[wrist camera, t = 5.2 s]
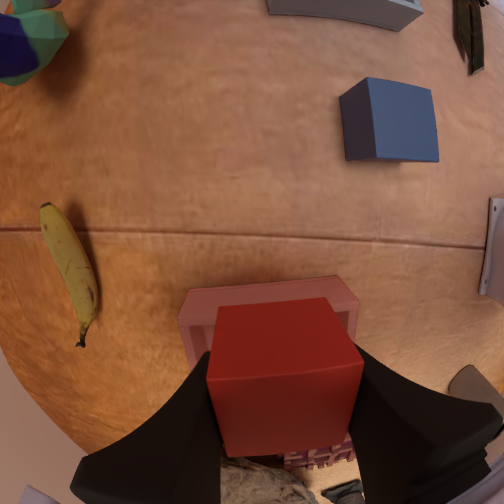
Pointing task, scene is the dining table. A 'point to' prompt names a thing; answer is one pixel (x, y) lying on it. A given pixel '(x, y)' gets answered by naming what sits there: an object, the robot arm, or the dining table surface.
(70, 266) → the banana
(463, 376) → the planter
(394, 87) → the blue block
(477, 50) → the knife
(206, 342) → the pink bin
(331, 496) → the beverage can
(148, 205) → the dining table surface
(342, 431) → the red block
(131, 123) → the dining table surface
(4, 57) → the decorative sculpture
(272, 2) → the blue bin
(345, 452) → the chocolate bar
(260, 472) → the rock
